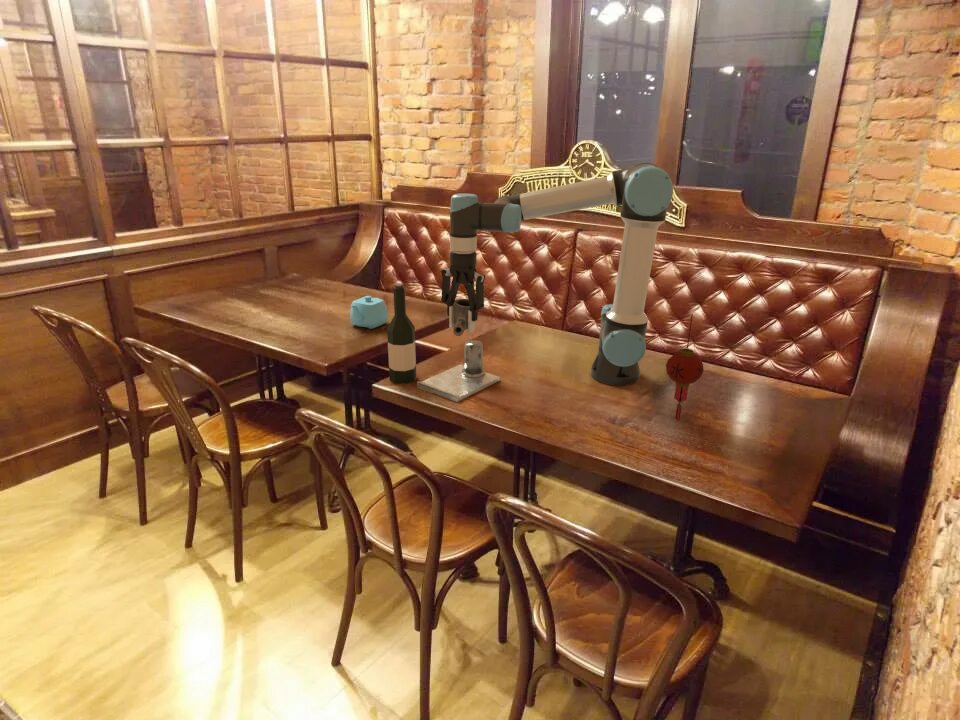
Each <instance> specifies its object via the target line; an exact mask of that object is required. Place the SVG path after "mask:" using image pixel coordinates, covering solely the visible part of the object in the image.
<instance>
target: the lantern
mask: <svg viewBox="0 0 960 720" xmlns="http://www.w3.org/2000/svg"><path fill="white" fill-rule="evenodd" d="M692 322H693V313H691V316H690V323H689V329H688V331H689V332H688V337H687V346H686V348H681V349H680V351H678V352H677V353H674V354H673V355H672V356H671V357H669V358H668V359H667V362H666V364H665V366H666V367H665V368H666V369H665V370H666V374H667V375H668V377H669V378H670V379H671V381H673V382H675V388H674V397H673V399H674V400H675V401H677V404H676V409H675V417H674V420H675V419H676V420H675V421H680V419H681V414H682V413H681V412H682V407H683V406H682V404H681V403H683V402H685V401H687V399H688V392H689V391H688V390H689V386H690V384H693V383H696V382H697V381H698V380H700V378H702V375H703V373H704V371H705V370H704V363H703V360H701V358H700V356H699V355H698V356H697V355H696V354H695V351H694V350H693V349H690V348H689V343H690V336H691V328H692Z"/></svg>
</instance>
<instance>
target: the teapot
mask: <svg viewBox="0 0 960 720" xmlns="http://www.w3.org/2000/svg"><path fill="white" fill-rule="evenodd" d="M349 307H350V313H349V316H350V323H351V324H352V325H355V326H357V327H359V328H360V327H363V328H368V329H369V330H372V329H375V328H377V327H380V326H382V325H384V324H386V323H388V320H389V319H388V318H389V314H388V307H387V305H386V301H385V300H384V299H381V298H379V297H372V295H366V296H363V297H361V298H358V299H355V300H353V301H352V302H351V304H350V305H349Z"/></svg>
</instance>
